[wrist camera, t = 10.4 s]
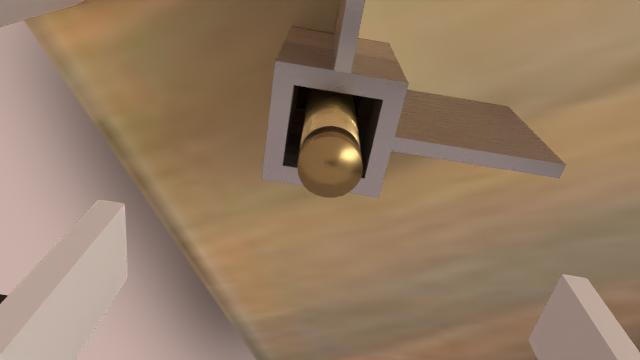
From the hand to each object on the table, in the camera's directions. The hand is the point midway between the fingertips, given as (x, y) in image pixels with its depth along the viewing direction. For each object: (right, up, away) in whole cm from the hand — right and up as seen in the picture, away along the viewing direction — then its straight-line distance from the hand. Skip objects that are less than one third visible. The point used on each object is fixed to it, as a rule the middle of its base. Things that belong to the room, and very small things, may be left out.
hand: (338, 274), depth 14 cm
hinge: (+5, +13, +15) cm, 21 cm away
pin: (0, +9, +17) cm, 20 cm away
